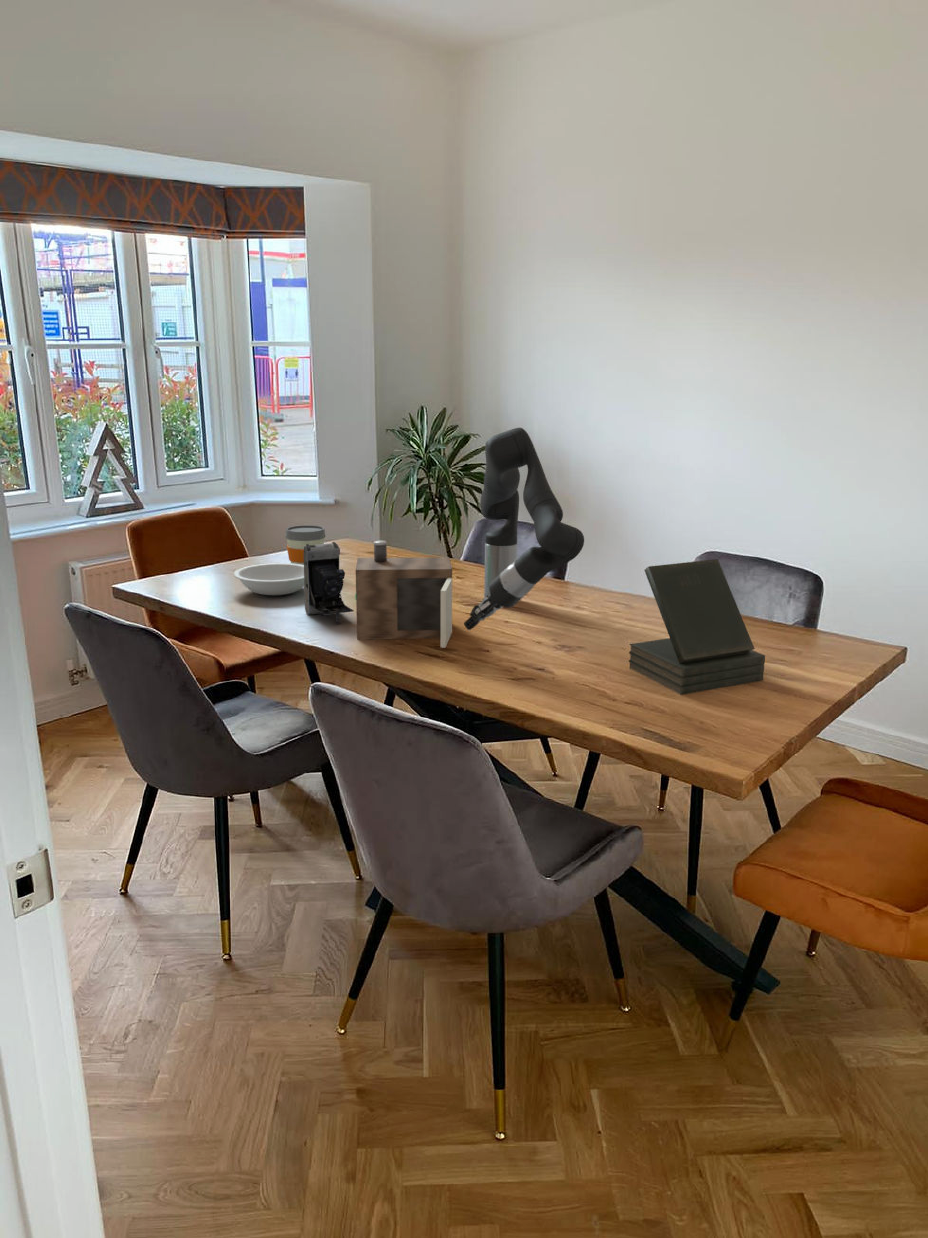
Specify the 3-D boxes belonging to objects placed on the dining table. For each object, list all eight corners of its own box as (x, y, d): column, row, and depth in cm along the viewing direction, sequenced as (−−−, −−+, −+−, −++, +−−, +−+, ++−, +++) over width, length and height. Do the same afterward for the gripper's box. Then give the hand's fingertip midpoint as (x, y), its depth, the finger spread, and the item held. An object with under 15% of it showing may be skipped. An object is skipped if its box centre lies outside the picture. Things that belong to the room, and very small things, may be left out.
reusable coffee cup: (323, 579, 305) (321, 532, 301) (283, 578, 305) (281, 532, 301) (329, 570, 317) (327, 525, 313) (291, 569, 317) (289, 524, 313)
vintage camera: (321, 629, 253) (321, 555, 247) (303, 612, 266) (302, 542, 260) (356, 625, 258) (357, 552, 252) (336, 609, 271) (336, 540, 265)
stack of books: (679, 696, 206) (688, 583, 200) (627, 669, 223) (633, 564, 217) (763, 681, 216) (773, 573, 209) (707, 656, 233) (715, 555, 226)
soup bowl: (309, 604, 276) (308, 581, 274) (225, 603, 276) (224, 580, 274) (322, 584, 299) (321, 563, 297) (245, 583, 299) (244, 562, 297)
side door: (447, 630, 244) (447, 577, 240) (452, 631, 244) (452, 577, 240) (440, 647, 231) (440, 590, 227) (445, 647, 230) (445, 590, 227)
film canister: (387, 559, 250) (386, 540, 249) (387, 562, 247) (386, 543, 245) (374, 559, 250) (373, 540, 248) (373, 562, 246) (373, 543, 245)
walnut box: (449, 622, 258) (449, 557, 253) (451, 638, 245) (452, 569, 240) (359, 623, 257) (357, 557, 252) (357, 639, 243) (355, 569, 238)
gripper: (517, 565, 227) (472, 608, 237) (489, 576, 216) (443, 620, 226) (536, 590, 226) (490, 632, 236) (509, 602, 215) (462, 646, 225)
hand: (467, 626), depth 231 cm, fingers closed
